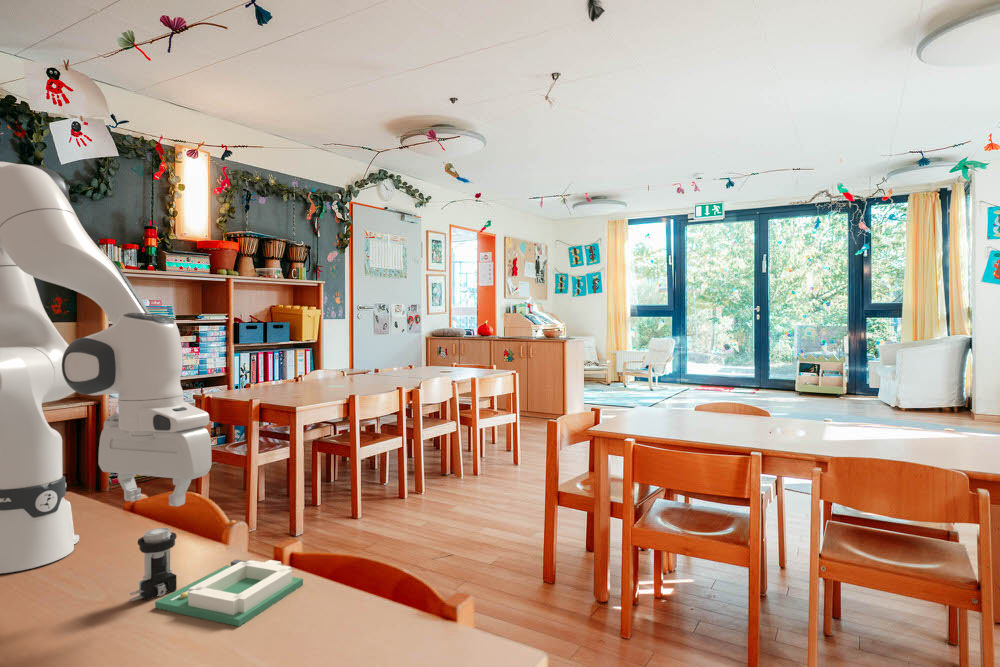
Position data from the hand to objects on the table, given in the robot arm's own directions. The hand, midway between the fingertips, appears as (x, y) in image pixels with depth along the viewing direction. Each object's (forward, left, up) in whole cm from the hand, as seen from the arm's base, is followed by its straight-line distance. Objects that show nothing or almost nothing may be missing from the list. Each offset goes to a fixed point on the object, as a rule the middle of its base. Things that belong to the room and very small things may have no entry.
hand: (154, 502), depth 91 cm
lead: (+9, +12, -15) cm, 21 cm away
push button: (0, 0, -15) cm, 15 cm away
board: (+12, +4, -15) cm, 19 cm away
